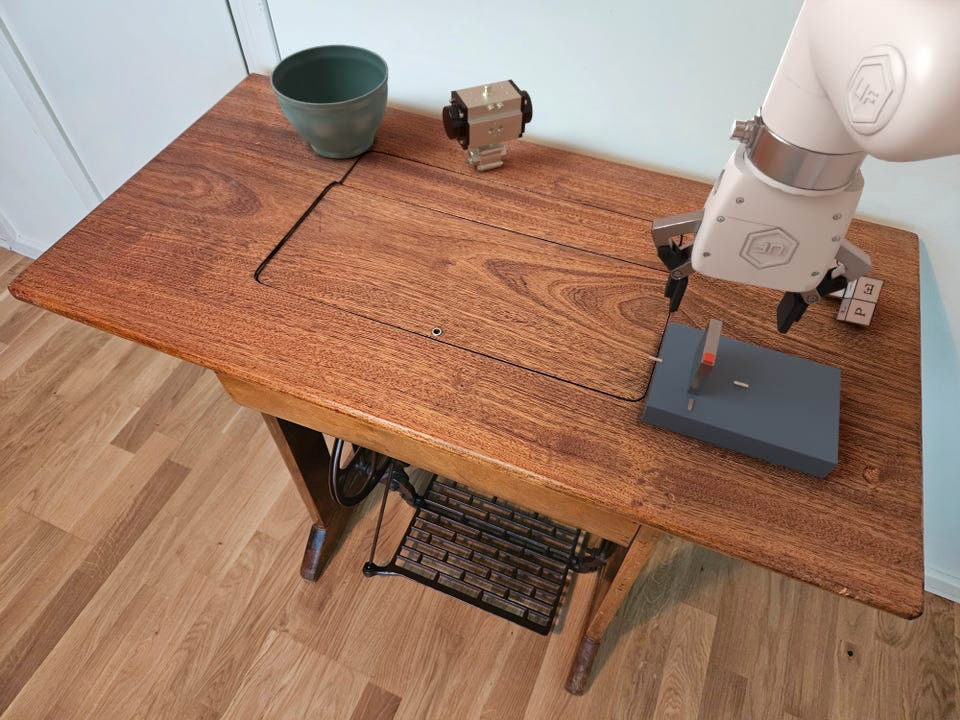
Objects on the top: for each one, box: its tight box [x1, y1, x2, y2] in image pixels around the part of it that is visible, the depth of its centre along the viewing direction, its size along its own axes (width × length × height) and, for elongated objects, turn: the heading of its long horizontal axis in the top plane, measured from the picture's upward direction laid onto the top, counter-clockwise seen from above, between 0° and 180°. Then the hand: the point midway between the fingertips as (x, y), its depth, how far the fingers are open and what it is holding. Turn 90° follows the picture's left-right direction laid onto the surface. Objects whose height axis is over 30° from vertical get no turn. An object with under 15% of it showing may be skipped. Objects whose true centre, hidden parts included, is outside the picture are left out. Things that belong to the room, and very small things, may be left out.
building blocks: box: [824, 258, 885, 327], centre depth 72 cm, size 5×5×8 cm
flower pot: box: [269, 44, 389, 159], centre depth 90 cm, size 16×16×11 cm
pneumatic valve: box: [441, 79, 534, 172], centre depth 86 cm, size 6×12×12 cm, turn 112°
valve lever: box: [687, 318, 723, 395], centre depth 62 cm, size 6×1×5 cm, turn 159°
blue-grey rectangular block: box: [640, 321, 842, 480], centre depth 64 cm, size 19×12×3 cm, turn 69°
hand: (726, 311), depth 57 cm, fingers open, 9 cm apart
